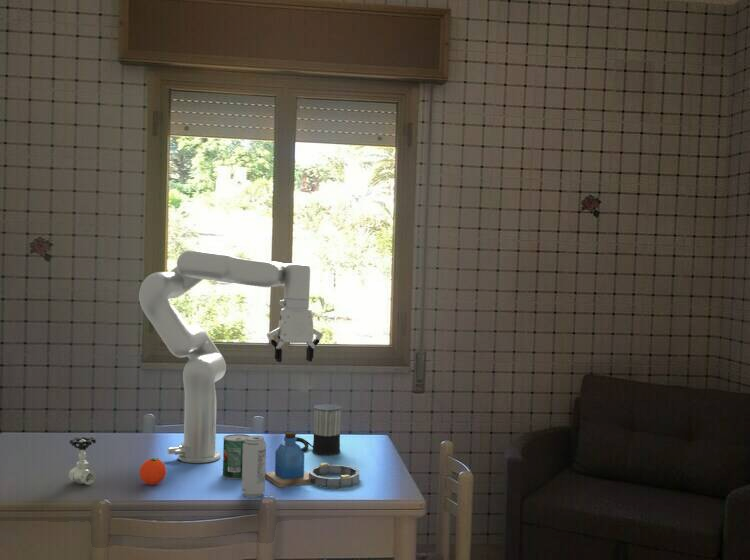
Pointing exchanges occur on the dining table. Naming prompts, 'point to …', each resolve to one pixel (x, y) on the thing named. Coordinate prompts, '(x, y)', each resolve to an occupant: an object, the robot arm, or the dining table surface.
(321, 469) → the collar
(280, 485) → the pad
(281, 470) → the perfume bottle
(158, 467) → the clementine
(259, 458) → the energy drink can
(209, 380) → the robot arm
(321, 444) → the milk frother
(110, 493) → the dining table surface
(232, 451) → the canned tomato
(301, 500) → the dining table surface
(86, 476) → the valve
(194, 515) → the dining table surface
